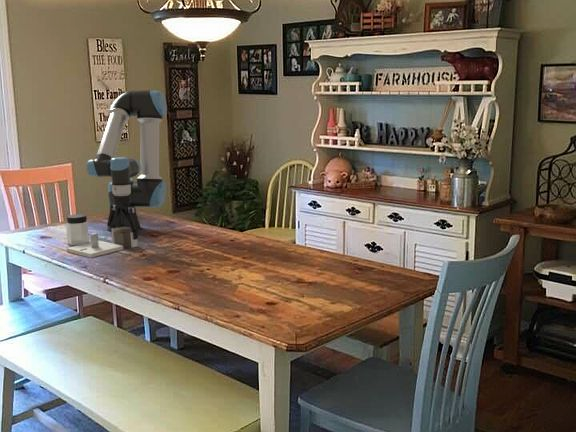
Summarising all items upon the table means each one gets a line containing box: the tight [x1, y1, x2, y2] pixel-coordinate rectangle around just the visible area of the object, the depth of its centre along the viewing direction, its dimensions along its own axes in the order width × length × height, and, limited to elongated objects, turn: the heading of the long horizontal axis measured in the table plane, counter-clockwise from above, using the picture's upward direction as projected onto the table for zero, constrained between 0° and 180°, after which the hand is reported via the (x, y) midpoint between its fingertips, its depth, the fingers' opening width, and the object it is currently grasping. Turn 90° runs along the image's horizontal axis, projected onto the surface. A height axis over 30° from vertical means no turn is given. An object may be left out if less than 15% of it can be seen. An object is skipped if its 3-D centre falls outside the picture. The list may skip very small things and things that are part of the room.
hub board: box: [66, 232, 124, 258], centre depth 269 cm, size 16×16×7 cm
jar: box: [65, 213, 90, 246], centre depth 281 cm, size 9×8×12 cm
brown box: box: [114, 227, 132, 249], centre depth 277 cm, size 7×7×8 cm
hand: (124, 244), depth 278 cm, fingers open, 12 cm apart
